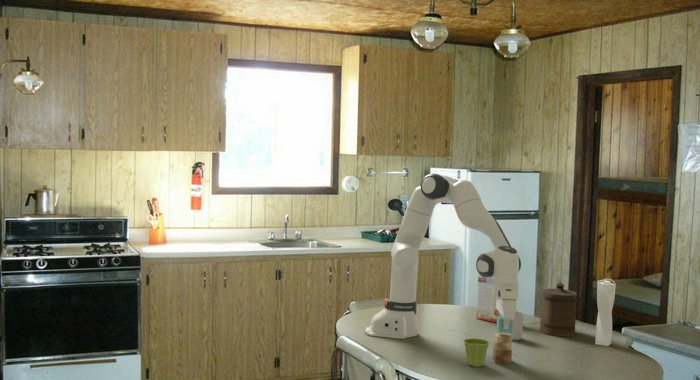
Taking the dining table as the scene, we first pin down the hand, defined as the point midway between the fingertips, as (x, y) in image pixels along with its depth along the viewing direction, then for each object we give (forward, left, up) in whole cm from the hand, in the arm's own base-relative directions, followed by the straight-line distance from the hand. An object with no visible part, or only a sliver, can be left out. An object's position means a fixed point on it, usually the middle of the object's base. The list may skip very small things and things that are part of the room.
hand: (504, 326), depth 275 cm
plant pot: (-11, -6, -13) cm, 18 cm away
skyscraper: (+47, +33, -13) cm, 59 cm away
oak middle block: (0, 0, -8) cm, 8 cm away
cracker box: (+6, +67, -13) cm, 68 cm away
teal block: (0, 0, -2) cm, 2 cm away
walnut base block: (0, 0, -13) cm, 13 cm away
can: (+10, +35, -13) cm, 39 cm away
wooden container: (+32, +50, -13) cm, 61 cm away
